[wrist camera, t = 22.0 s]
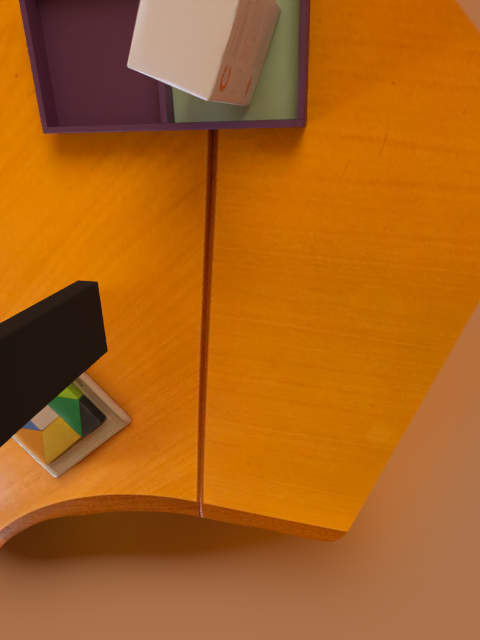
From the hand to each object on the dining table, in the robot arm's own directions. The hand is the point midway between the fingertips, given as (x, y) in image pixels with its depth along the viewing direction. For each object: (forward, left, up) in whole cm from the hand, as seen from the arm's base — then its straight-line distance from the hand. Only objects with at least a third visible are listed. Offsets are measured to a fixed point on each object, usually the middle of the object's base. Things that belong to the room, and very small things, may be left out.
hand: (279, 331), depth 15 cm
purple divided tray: (+15, -13, -32) cm, 38 cm away
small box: (+9, -13, -32) cm, 35 cm away
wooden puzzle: (+36, +28, -32) cm, 56 cm away
